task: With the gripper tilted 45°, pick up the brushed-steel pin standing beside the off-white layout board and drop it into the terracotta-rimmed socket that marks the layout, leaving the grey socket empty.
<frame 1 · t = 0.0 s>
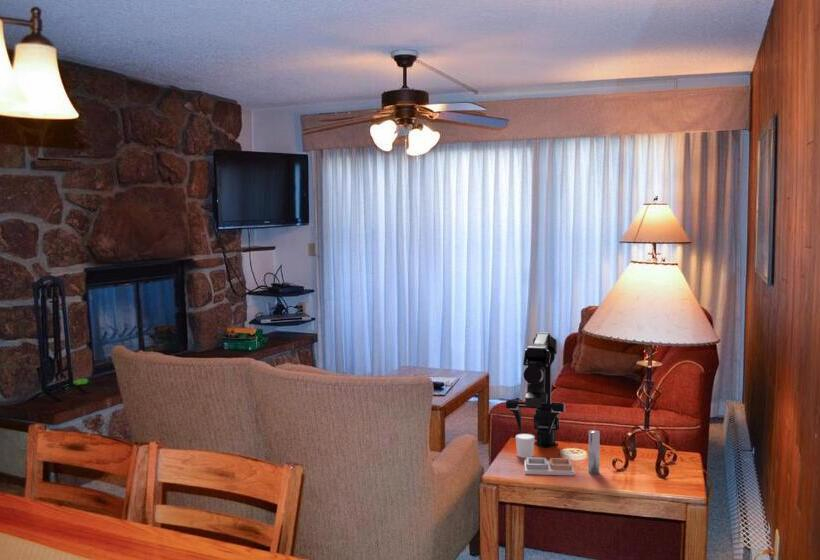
hand: (534, 432, 239), 15 cm above the table, tool pointing down, fingers open, 9 cm apart
layout board: (548, 469, 249), on the table
shot glass: (525, 455, 263), on the table
steel pin: (593, 472, 245), on the table
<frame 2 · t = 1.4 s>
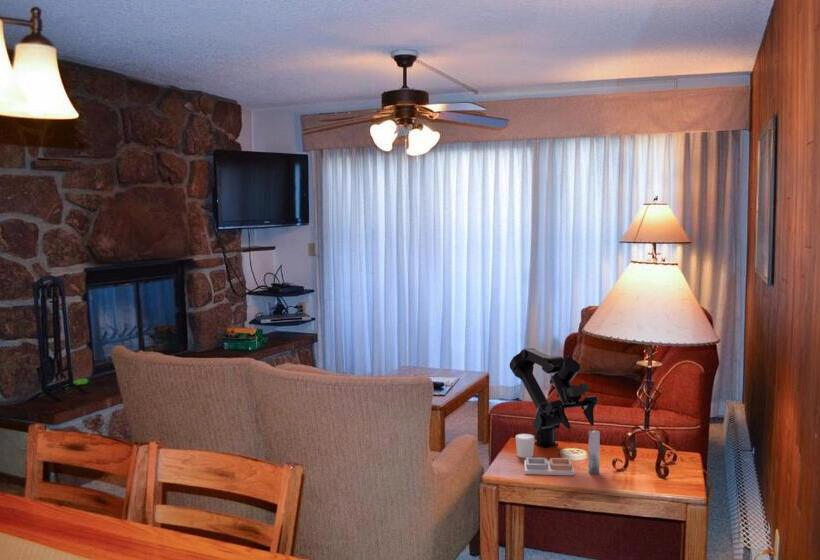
hand: (581, 427, 251), 13 cm above the table, tool tilted 45°, fingers open, 9 cm apart
nothing on the table moved.
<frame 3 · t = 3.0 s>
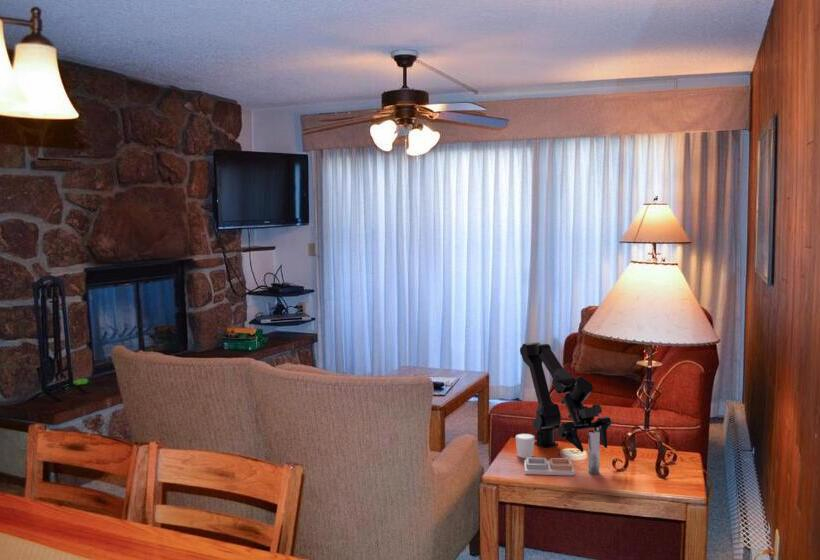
hand: (594, 449, 244), 8 cm above the table, tool tilted 45°, fingers open, 9 cm apart
nothing on the table moved.
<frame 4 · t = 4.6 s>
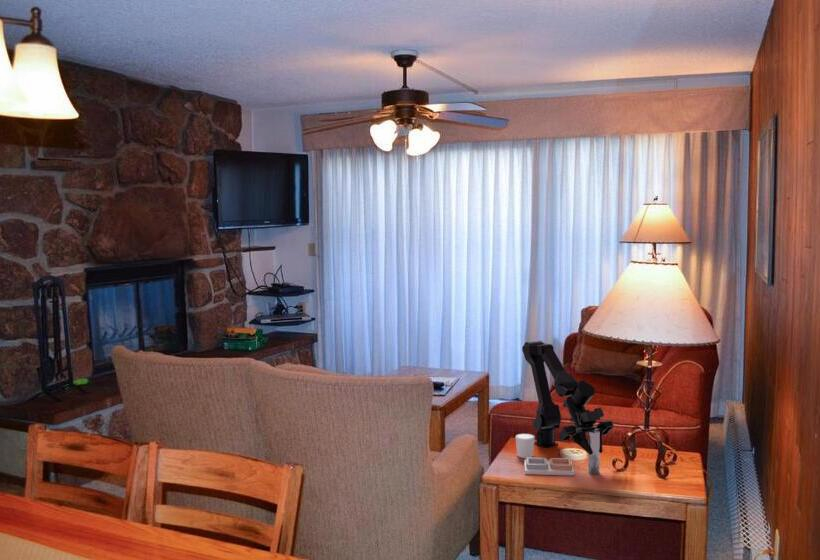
hand: (596, 453, 243), 7 cm above the table, tool tilted 45°, fingers closed on steel pin, 4 cm apart
steel pin: (593, 472, 245), on the table, touching gripper
everything else where it was.
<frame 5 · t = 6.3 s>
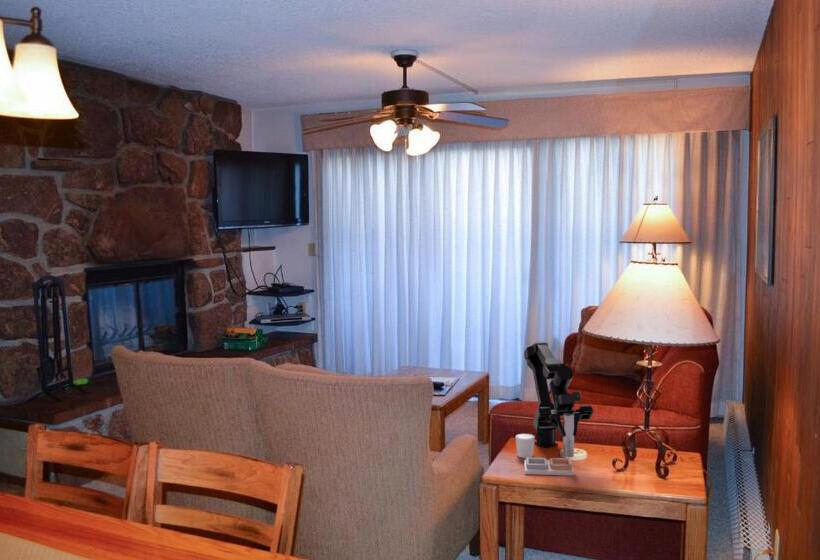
hand: (569, 436, 245), 12 cm above the table, tool tilted 45°, fingers closed on steel pin, 4 cm apart
steel pin: (568, 455, 247), point 5 cm above the table, touching gripper
everything else where it was.
when the fingers open (9 cm above the table, at t = 8.4 s): steel pin stays where it is, resting on layout board.
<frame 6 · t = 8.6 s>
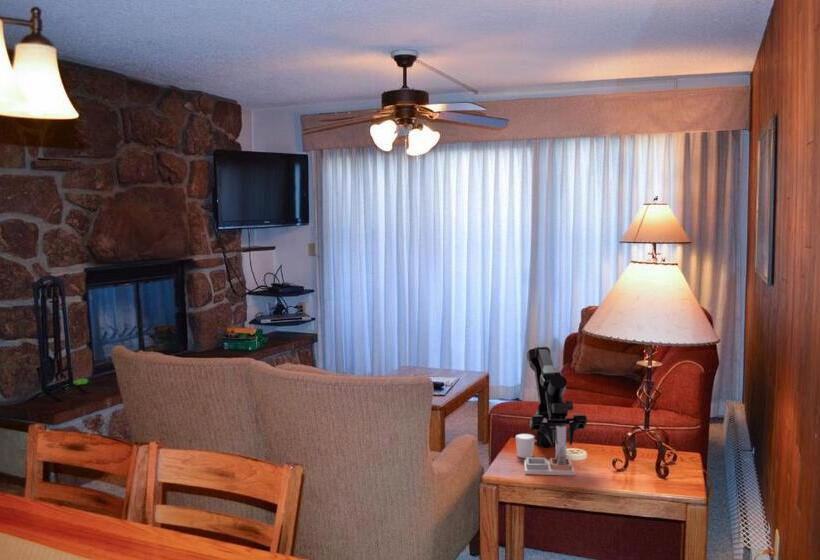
hand: (561, 444, 246), 9 cm above the table, tool tilted 45°, fingers open, 6 cm apart
steel pin: (560, 465, 248), point 1 cm above the table, touching layout board
everything else where it was.
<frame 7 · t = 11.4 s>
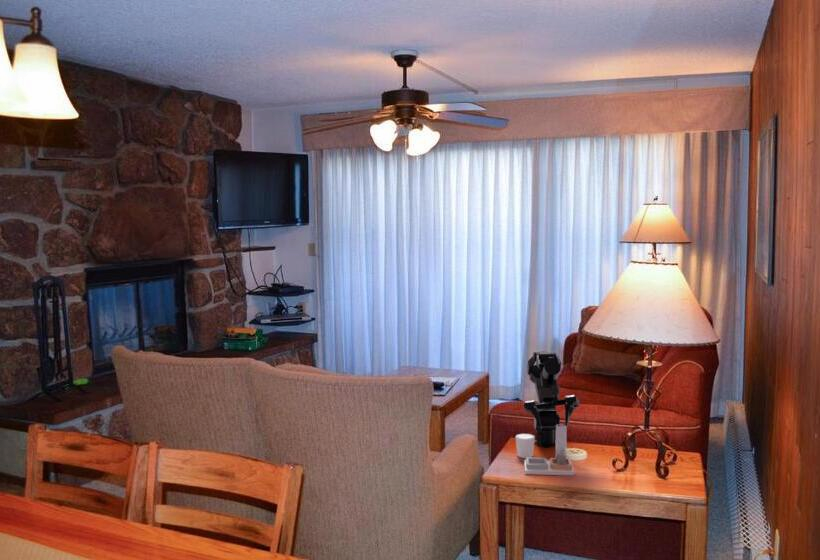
hand: (553, 427, 256), 12 cm above the table, tool tilted 35°, fingers open, 9 cm apart
nothing on the table moved.
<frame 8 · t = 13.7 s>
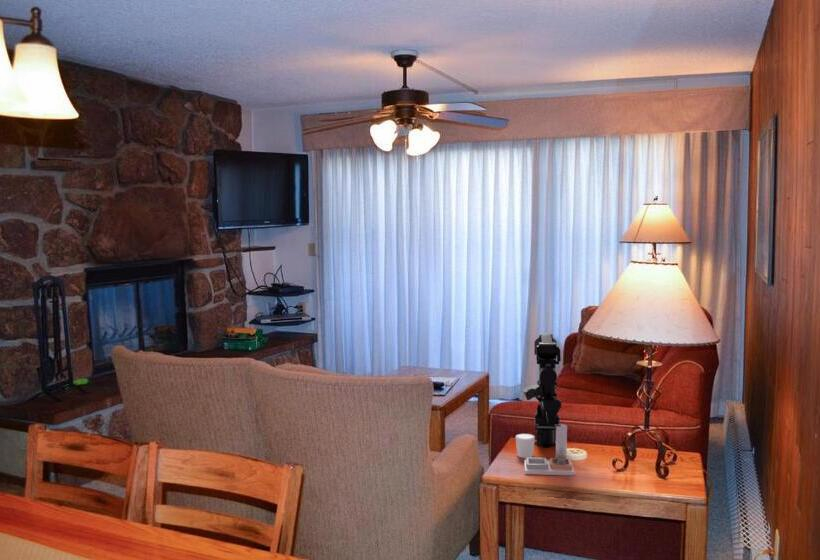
hand: (547, 421, 259), 13 cm above the table, tool pointing down, fingers open, 9 cm apart
nothing on the table moved.
at the end: steel pin 0.1 cm from the target spot on the layout board, point 1.2 cm above the layout board's base; steel pin tilted 1°; the gripper is holding nothing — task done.
